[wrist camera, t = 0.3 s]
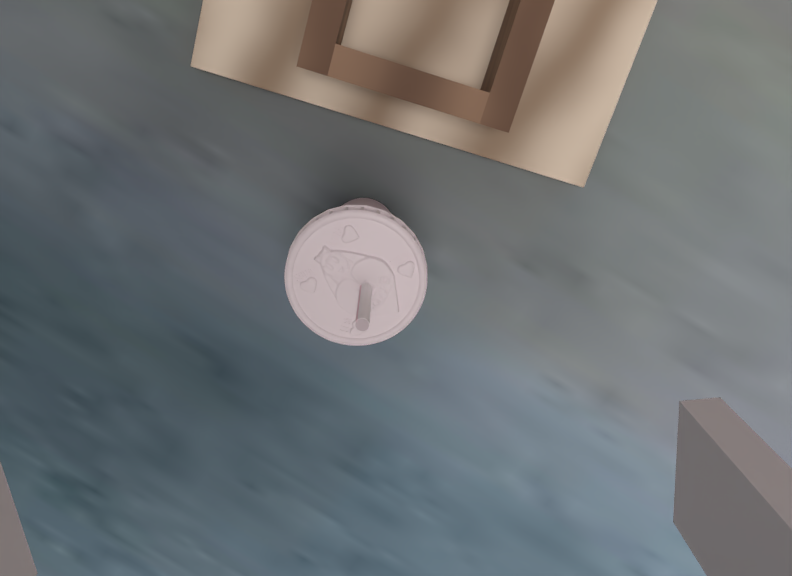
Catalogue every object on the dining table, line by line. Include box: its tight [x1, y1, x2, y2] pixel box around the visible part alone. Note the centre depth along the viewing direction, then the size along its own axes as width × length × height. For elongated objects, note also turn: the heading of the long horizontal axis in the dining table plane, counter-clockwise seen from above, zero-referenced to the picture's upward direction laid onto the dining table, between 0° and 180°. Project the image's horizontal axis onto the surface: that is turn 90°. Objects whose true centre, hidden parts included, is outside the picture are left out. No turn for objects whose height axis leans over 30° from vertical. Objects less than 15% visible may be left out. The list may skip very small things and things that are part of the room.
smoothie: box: [284, 198, 427, 346], centre depth 31 cm, size 6×6×14 cm
